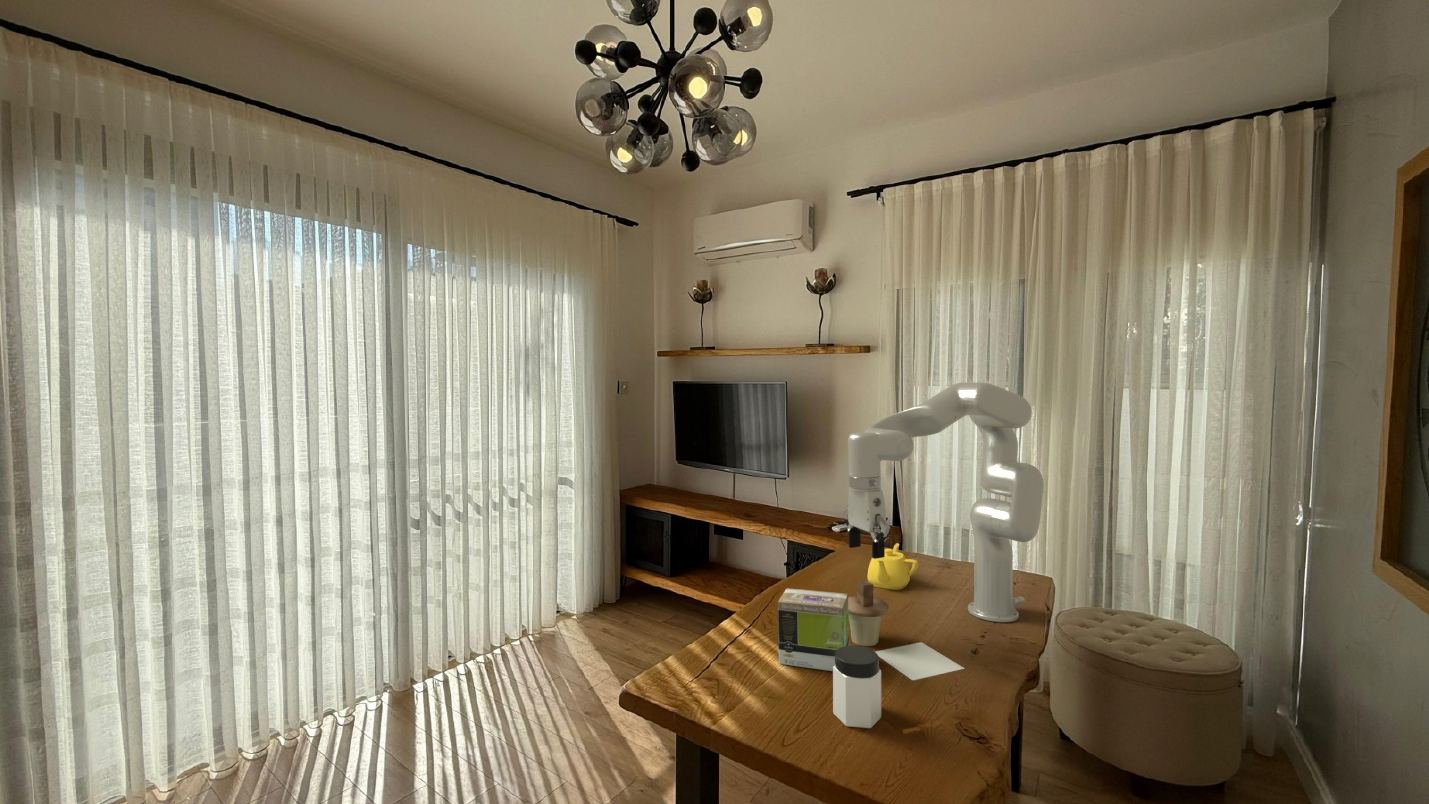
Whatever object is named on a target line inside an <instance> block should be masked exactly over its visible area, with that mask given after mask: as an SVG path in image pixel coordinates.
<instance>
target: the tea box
mask: <svg viewBox="0 0 1429 804" xmlns="http://www.w3.org/2000/svg"><path fill="white" fill-rule="evenodd" d="M848 597H849V594H848V593H844V592H843V593H842V592H831V591H821V590H820V591H819V590H810V589H798V588H788V587H787V588H785V590H784V591H783V592H782V594H781V596H780V598H779V599H778V601H777V633H778V634H777V635H778V637H777V639H778V640H777V641H778V643H777V645H778V647H777V648H778V663H779V665H786V666H787V665H788V666H794V667H800V668H807V669H815V670H822V671H828V672H829V671H830V672H833V666H834V665H835V652H836V651H837V649H839V648H841V647H843V646H850V631H849V630H850V622H849V616H848Z"/></svg>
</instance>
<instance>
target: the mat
mask: <svg viewBox="0 0 1429 804" xmlns="http://www.w3.org/2000/svg"><path fill="white" fill-rule="evenodd" d="M875 652H876V653H877V654H878V656H879V659H882V660H883V661H884V662H886V663H887V664H889V665H890V666H892V668H895V669H896V670H897V671H898V672H900V673H901V674H902V675H904V676H905V677H907V678H908V679H909V680H911V681H918V680H922V679H926V678H930V677H935V676H939V675H943V674H947V673H951V672H956V671H960V670H965V667H963V666H961V665H960V664H958V663H957V662H955V661H952V659H950V658H949V657H946V656H945V655H943V654H941V653H940V652H938V651H936V650H935V649H933V648H932V647H930V646H928V645H926V644H925V643H923V642H922V641H919V642H915V643H911V644H910V643H909V644H906V645H905V644H904V645H901V646H896V647H891V648H886V649H881V650H877V651H876V650H875Z"/></svg>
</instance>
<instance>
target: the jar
mask: <svg viewBox="0 0 1429 804" xmlns="http://www.w3.org/2000/svg"><path fill="white" fill-rule="evenodd" d="M879 659H880V657H879V656H878V654H877V653H876V650H874V649H871V648H869V647H867V646H862V645H857V644H855V645H853V644H852V645H851V644H849V646H843V647H841V648H839V649H837V651H836V652H835V665H834V666H833V670H832V689H833V690H832V713H833V715H834V716H835V717H836V718H838V720H840V722H841V723H842V724H843V725H844V726H846V727H851V728H852V727H853V728H862V729H872V728H873V726H874V725H876V723H877V722H878V721H879V720H880V719H881V718H882V670H881V669H880V665H879V664H880V660H879Z"/></svg>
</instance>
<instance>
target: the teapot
mask: <svg viewBox="0 0 1429 804" xmlns="http://www.w3.org/2000/svg"><path fill="white" fill-rule="evenodd" d="M899 547H900V544H899V543H898V542H897V543H895V544H894V546H893V549H891V548H885V557H883V558H877V559H874V558H872V557H871V559H870V561H869V566H868V569H867V581H868V582H870V583H872V584H873V588H874V587H876V588H879V589H883V590H891V591H900V590H902V589H904V588H906V587H907V586H908V585H909V583H910V580H911V576H912V575H913V574H914V573H915V572H916V571H917V570H918V568H919V561H918V560H916V559H912V558H911V559H910V558H909V559H908V558H906V556H905V554H904V553H902V552H899ZM908 563H909V564H911V565H912V566H911V568H909V564H908Z"/></svg>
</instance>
